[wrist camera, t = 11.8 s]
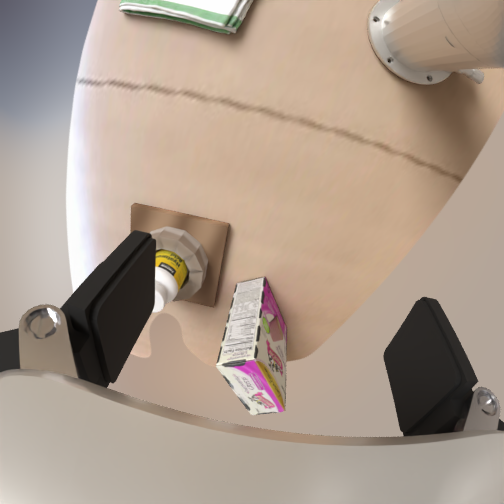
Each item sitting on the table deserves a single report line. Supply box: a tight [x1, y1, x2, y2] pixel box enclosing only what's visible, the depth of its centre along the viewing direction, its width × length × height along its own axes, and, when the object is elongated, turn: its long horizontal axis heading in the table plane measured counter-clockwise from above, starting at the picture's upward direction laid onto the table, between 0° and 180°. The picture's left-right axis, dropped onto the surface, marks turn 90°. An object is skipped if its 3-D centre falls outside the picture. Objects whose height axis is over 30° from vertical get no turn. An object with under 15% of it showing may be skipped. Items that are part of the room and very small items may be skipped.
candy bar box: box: [216, 277, 287, 415], centre depth 39 cm, size 11×5×16 cm, turn 21°
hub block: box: [131, 203, 229, 307], centre depth 41 cm, size 14×14×4 cm
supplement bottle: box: [152, 249, 189, 313], centre depth 38 cm, size 5×5×10 cm
